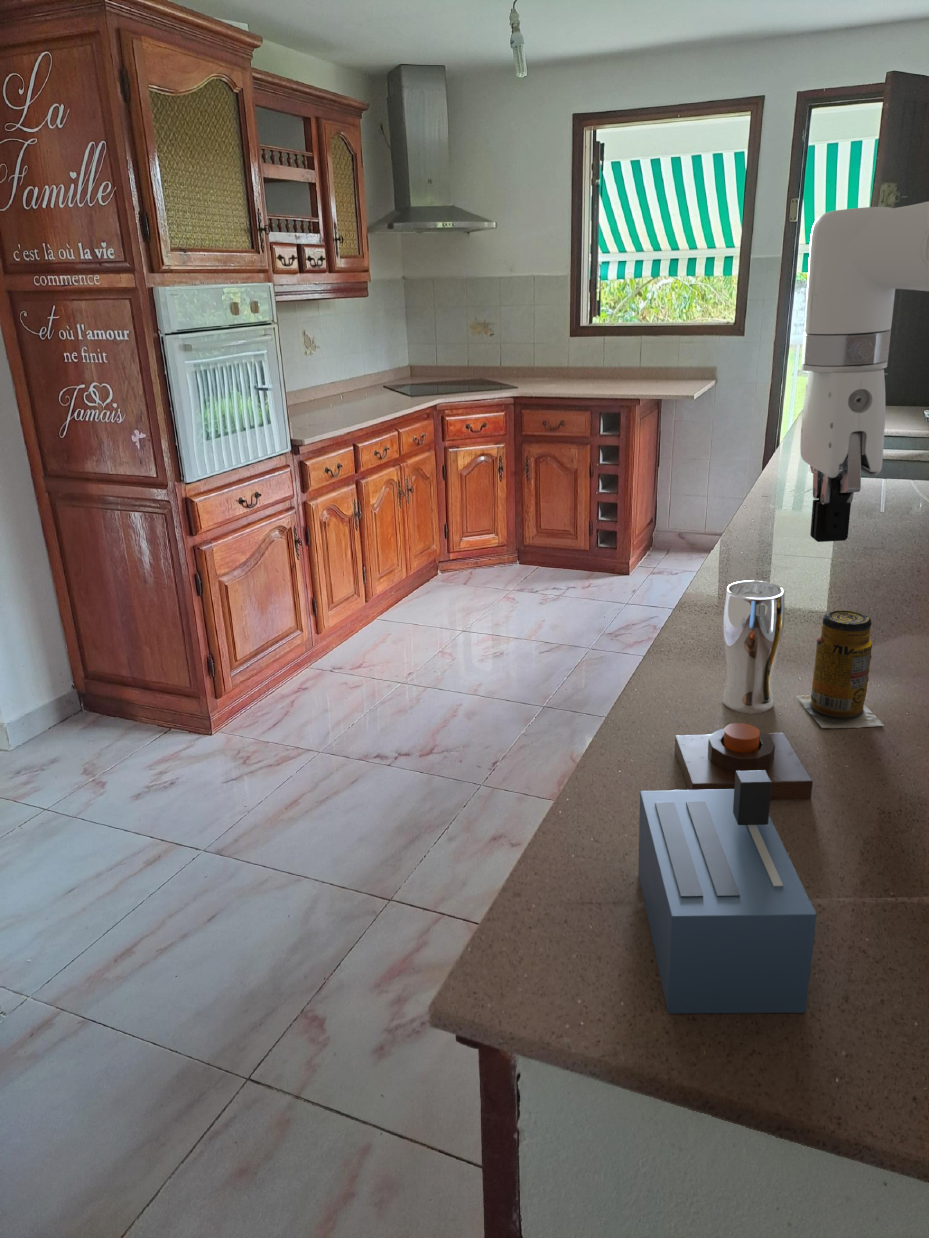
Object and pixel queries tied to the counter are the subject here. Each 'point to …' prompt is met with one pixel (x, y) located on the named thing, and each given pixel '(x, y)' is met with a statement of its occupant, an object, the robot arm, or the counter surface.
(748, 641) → the beer glass
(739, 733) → the button
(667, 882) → the toaster
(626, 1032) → the counter surface
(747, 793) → the toaster slider
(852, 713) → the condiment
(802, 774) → the block
